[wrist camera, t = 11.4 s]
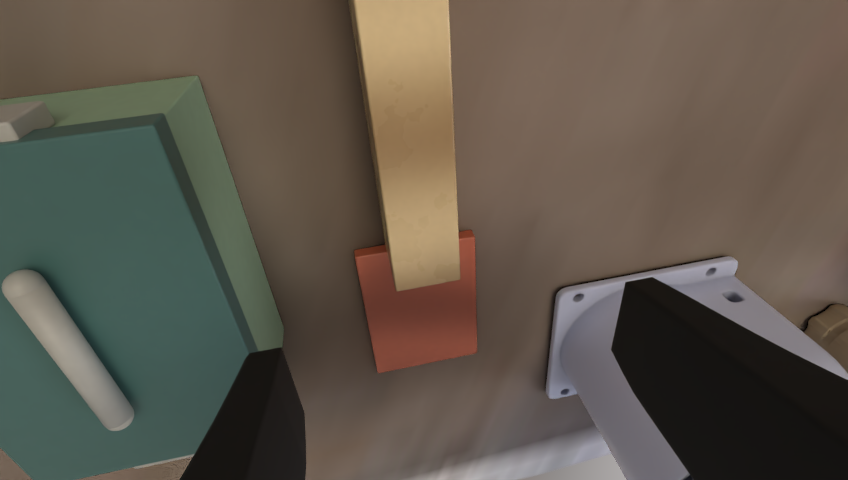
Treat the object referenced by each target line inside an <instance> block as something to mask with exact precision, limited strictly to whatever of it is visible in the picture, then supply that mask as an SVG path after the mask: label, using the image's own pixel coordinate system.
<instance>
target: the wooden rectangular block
mask: <svg viewBox="0 0 848 480" xmlns="http://www.w3.org/2000/svg"><path fill="white" fill-rule="evenodd" d="M348 1H349V8H350V15H351V21H352V28H353V35H354V41H355V48H356V55H357V61H358V68H359V74H360V81H361V88H362V94H363V101H364V108H365V114H366V121H367V128H368V134H369V141H370V147H371V154H372V161H373V167H374V174H375V181H376V187H377V194H378V201H379V207H380V214H381V220H382V227H383V234H384V240H385V245H380V246H374V247H368V248H363V249H357V250H354V256H355V262H356V267H357V272H358V277H359V282H360V287H361V292H362V297H363V302H364V307H365V312H366V317H367V322H368V327H369V332H370V337H371V342H372V347H373V352H374V357H375V362H376V367H377V372H378V373H383V372H388V371H392V370H397V369H402V368H407V367H412V366H417V365H422V364H427V363H431V362H436V361H441V360H446V359H451V358H456V357H461V356H465V355H470V354H475V353H477V314H476V261H475V236H474V234H473V232H472V230H467V231H461V232H459V230H458V206H457V183H456V159H455V136H454V112H453V89H452V65H451V42H450V18H449V0H348Z"/></svg>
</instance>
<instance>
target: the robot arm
mask: <svg viewBox="0 0 848 480" xmlns="http://www.w3.org/2000/svg"><path fill="white" fill-rule="evenodd" d="M737 267H738V262H737V260H735V259H734V258H733V257H731V256H726V257H721V258H716V259H711V260H705V261H700V262H695V263H690V264H685V265H679V266H674V267H669V268H664V269H658V270H653V271H648V272H643V273H638V274H632V275H627V276H622V277H617V278H611V279H606V280H601V281H596V282H591V283H585V284H580V285H575V286H570V287H565V288H562V289H561V290H560V291H559V292H558V293H557V295H556V299H555V308H554V318H553V327H552V336H551V345H550V355H549V364H548V373H547V383H546V393H547V395H548V397H549V398H551V399H557V398H562V397H566V396H571V395H575V394H578V395H579V397H580V398H581V400H582V402H583V404H584V405H585V407H586V409H587V411H588V412H589V414H590V416H591V418H592V419H593V421H594V423H595V425H596V426H597V428H598V430H599V432H600V434H601V435H602V437H603V439H604V441H605V442H606V444H607V446H608V448H609V449H610V451H611V453H612V455H613V456H614V458H615V460H616V462H617V463H618V465H619V467H620V469H621V470H622V472H623V474H624V476H625V477H626V479H627V480H848V373H847V372H846V370H845V369H844V368H843V367H842V366H841V365H840V364H839V363H838V361H837V360H836V359H835V358H833V357H832V356H831V355H830V354H829V353H828V352H827V351H826V350H824V349H823V348H822V347H821V346H819V345H818V344H817V343H816V342H815V341H813V340H812V339H811V338H810V337H808V336H807V335H806V334H805V333H804V332H802V331H801V330H800V329H799V328H797V327H796V326H795V325H794V324H793V323H791V322H790V321H789V320H788V319H786V318H785V317H784V316H783V315H782V314H780V313H779V312H778V311H777V310H775V309H774V308H773V307H772V306H770V305H769V304H768V303H767V302H766V301H764V300H763V299H762V298H761V297H759V296H758V295H757V294H756V293H755V292H753V291H752V290H751V289H750V288H748V287H747V286H746V285H745V284H744V283H742V282H741V281H740V280H739V279H737V278H736V277H735V276H734V275H735V272H736V269H737ZM577 294H578V295H577ZM575 295H577V296H575ZM574 296H575V297H574ZM305 474H306V440H305V416H304V410H303V407H302V405H301V402H300V399H299V396H298V393H297V390H296V387H295V384H294V382H293V379H292V376H291V373H290V370H289V367H288V364H287V361H286V359H285V356H284V353H283V350H282V347H279V348H274V349H269V350H263V351H258V352H253V353H249V354H248V356H247V357H246V358H245V360H244V362H243V364H242V366H241V368H240V370H239V372H238V374H237V376H236V378H235V380H234V382H233V384H232V386H231V388H230V390H229V392H228V394H227V396H226V398H225V400H224V402H223V404H222V406H221V407H220V409H219V411H218V413H217V415H216V417H215V419H214V421H213V422H212V424H211V426H210V428H209V430H208V431H207V433H206V435H205V437H204V438H203V440H202V442H201V444H200V445H199V447H198V449H197V451H196V453H195V454H194V456H193V458H192V460H191V461H190V463H189V465H188V466H187V468H186V470H185V471H184V473H183V475H182V476H181V478H180V480H305Z"/></svg>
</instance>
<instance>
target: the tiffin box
mask: <svg viewBox="0 0 848 480" xmlns="http://www.w3.org/2000/svg"><path fill="white" fill-rule="evenodd" d="M283 334H284V327H283V324H282V321H281V318H280V316H279V313H278V310H277V307H276V304H275V301H274V298H273V295H272V292H271V289H270V286H269V283H268V280H267V277H266V274H265V271H264V268H263V266H262V263H261V260H260V257H259V254H258V251H257V248H256V245H255V242H254V239H253V236H252V233H251V230H250V227H249V224H248V221H247V218H246V216H245V213H244V210H243V207H242V204H241V201H240V198H239V195H238V192H237V189H236V186H235V183H234V180H233V177H232V174H231V171H230V169H229V166H228V163H227V160H226V157H225V154H224V151H223V148H222V145H221V142H220V139H219V136H218V133H217V130H216V127H215V124H214V121H213V119H212V116H211V113H210V110H209V107H208V104H207V101H206V98H205V95H204V92H203V89H202V86H201V83H200V80H199V77H198V76H188V77H180V78H172V79H164V80H156V81H148V82H139V83H131V84H123V85H115V86H107V87H99V88H91V89H83V90H75V91H67V92H59V93H51V94H43V95H34V96H26V97H18V98H10V99H2V100H0V448H1V449H2V450H3V451H4V452H5V453H6V454H7V455H8V456H9V457H10V458H11V459H12V460H13V461H14V462H15V463H16V464H17V465H18V466H19V467H20V468H21V469H22V470H23V471H24V472H25V473H26V474H27V475H28V476H29V477H30V478H31V479H33V480H76V479H81V478H85V477H90V476H95V475H99V474H104V473H108V472H113V471H118V470H122V469H127V468H132V467H134V468H136V469H138V468H143V467H147V466H152V465H157V464H161V463H166V462H170V461H175V460H180V459H184V458H189V457H193V456H194V454H195V453H196V451H197V449H198V447H199V445H200V444H201V442H202V440H203V438H204V437H205V435H206V433H207V431H208V430H209V428H210V426H211V424H212V422H213V421H214V419H215V417H216V415H217V413H218V411H219V409H220V407H221V406H222V404H223V402H224V400H225V398H226V396H227V394H228V392H229V390H230V388H231V386H232V384H233V382H234V380H235V378H236V376H237V374H238V372H239V370H240V368H241V366H242V364H243V362H244V360H245V358H246V357H247V356H248V354H249V353H253V352H258V351H263V350H269V349H274V348H279V347H283Z"/></svg>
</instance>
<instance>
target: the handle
mask: <svg viewBox="0 0 848 480" xmlns="http://www.w3.org/2000/svg"><path fill="white" fill-rule="evenodd" d="M804 333H805V334H806V335H807V336H808V337H810V338H811V339H812V340H813V341H815V342H816V343H817V344H818V345H819V346H821V347H822V348H823V349H824V350H826V351H827V352H828V353H829V354H830V355H831V356H832V357H833V358H835V359H836V360H837V361H838V363H839V364H840V365H841V366H842V367H843V368H844V369H845V370H846V372H847V373H848V307H847V306H845V305H843V304H834V305H831V306H830V307H829V308H828V309H827V310H825V311H824V312H822V313H821V314H819V315H817V316H814V317H812V318H811V319H810V320H809V321H808V327H807V329H806V330H805V331H804Z"/></svg>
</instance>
